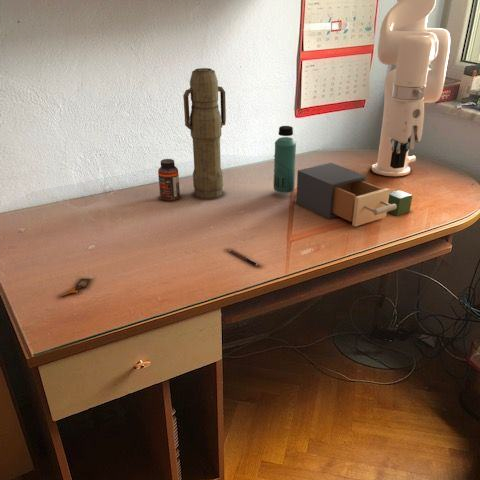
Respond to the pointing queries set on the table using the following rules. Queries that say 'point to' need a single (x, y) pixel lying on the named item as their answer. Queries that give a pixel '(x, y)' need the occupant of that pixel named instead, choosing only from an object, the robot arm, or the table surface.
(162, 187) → the supplement bottle
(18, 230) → the table surface
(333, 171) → the cabinet
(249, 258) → the pen
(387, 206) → the drawer
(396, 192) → the block
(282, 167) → the beverage bottle
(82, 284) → the key tag
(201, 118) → the thermos
